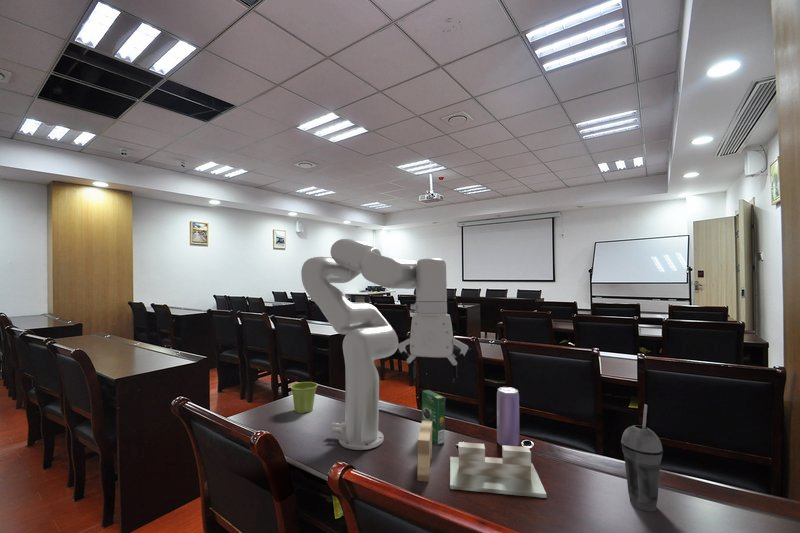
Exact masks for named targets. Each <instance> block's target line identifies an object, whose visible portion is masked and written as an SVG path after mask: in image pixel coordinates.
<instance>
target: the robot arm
mask: <svg viewBox="0 0 800 533" xmlns="http://www.w3.org/2000/svg"><path fill="white" fill-rule="evenodd" d="M300 270H301V272H300V274H301V281H302V282H301V283H302V285H303V288H304V290H305V292H306V293H307V295H308V296H309V298H310V299H311V300H312V301H313V302H314V303H315V305H317V307H319V309H320V311H321V312H322V314H323V315H324V317H325V318H326V320H327V322H328V323H329V324H330V325H331V327H332V328H333V330H334V331H335V333H338V334H340V335H345V336H344V338H343V341H342V351H343V359H344V365H345V395H344V396H345V397H344V399H345V401H344V422H343V421H342V422H341V423H338V422H330V423H331V424H330V430H331V432H332V433H334V434H336V433H339V434H340V435H339V437H338V443H339V444H340V445H341V446H342V447H343V448H345V449H348V450H353V451H354V450H355V451H363V450H364V451H365V450H371V449H374V448H377V447H379V446H380V445H382V444H383V443H384V438H385V436H384V434H383V432H381V431H380V430H379V418H380V417H379V413H380V412H379V408H380V407H379V406H380V405H379V404H380V376H379V371H378V369H377V367H376V365H375V361H376V360H378V359H385V358H389V357H390V356H392V355H394V354H395V353H396V351H397V350H399V353H400V355H401V357H402V358H404V360H405V361H406V363H407V366H408V367H407V370H408V373H407V374H408V377H410V381H414V380H415V379H417V361H416V360H415V359H416V358H418V357H419V358H420V357H421V358H447V359H448V361H449V362H450V365H449V378H450V379H449V382H450V383H453V384H454V382H455V380H456V379H458V364H459V363H460V362H461V361H462V360H463V359H464V357H465V355H466V353H467V352H468V350H469V346H468V345H467V344H466V343H463V342H462V341H460V340H458V339H456V338H455V337H454V334H453V333H454V332H453V325H452V318H451V315H450V314H448V302H447V301H448V296H447V295H448V290H447V289H448V288H447V264H446V261H445V259H442V258H439V257H438V258H436V257H435V258H433V257H431V258H430V257H429V258H420V259H418V260H411V259H401V258H393V257H388V256H384V255H382V253H381V250H380V249H378V247H375V246H373V245H372V244H371V243H369V242H368V241H364V240H358V239H353V238H352V239H351V238H340V239H338V240H336V241H335V242H334V243H333V244H332V245H331V247H330V256H314V257H310V258H308V259H306V260H305V261H304V263H303V264H302V267H301V269H300ZM359 275H361V276H362V277H363V278H364V279H365V280H366V281H368V282H370V283H372V284H376V286H377V285H378V286H380V287H384V288H385V289H386V288H387V289H390V290H391V289H396V290H397V289H405V290H415V303H413V304H412V303H411V304H410V310H411V311H412V310H413V311H415V314H412V318H411V323H410V324H411V325H410V336H409V338H407V339H405V340H404V341H401V342H400V343H399V337H398V335H397V333H396V330H395V329H394V328H393V327H392V325H391V324H390V323H389V321H388V320H387V319H386V318H385V317H384V316H383V315H382V312H380V311H379V309H378V308H377V307H376V306H374V305H373V304H371V303H368V302H352V301H350V300H349V299H348V298H347V297H346V295H344V293H343V292H342V291H341V289H339V288H338V287H336V286H335V285H333V284H346V283H349V282H351V281H353V280H354V279H355V278H356V277H358V276H359ZM408 345H409V352H410V353H409V352H408V351H407V349H406V346H408ZM454 346H455V347H457V348H459V349H460V352H459V354H458V355H457V356H456V355H455V354H454Z"/></svg>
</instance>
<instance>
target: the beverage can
mask: <svg viewBox="0 0 800 533" xmlns="http://www.w3.org/2000/svg"><path fill="white" fill-rule="evenodd" d="M496 442H497V443H498V445H500V447H502V445H506V446H519V445H520V394H519V390H518V389H516V388H514V387H509V386H508V387H507V386H502V387H499V388H497V392H496Z"/></svg>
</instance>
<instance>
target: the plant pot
mask: <svg viewBox="0 0 800 533" xmlns="http://www.w3.org/2000/svg"><path fill="white" fill-rule="evenodd" d="M318 386H319V384H318V383H316V382H313V381H301V382H296V383H293V384H291V385H290V386H289V388H290V389H291V393H292V398H293V407H294V412H295V413H297V414H305V413H310V412H312V411H313V410H314V403H315V401H314V400H315V396H316V391H317V388H318Z"/></svg>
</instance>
